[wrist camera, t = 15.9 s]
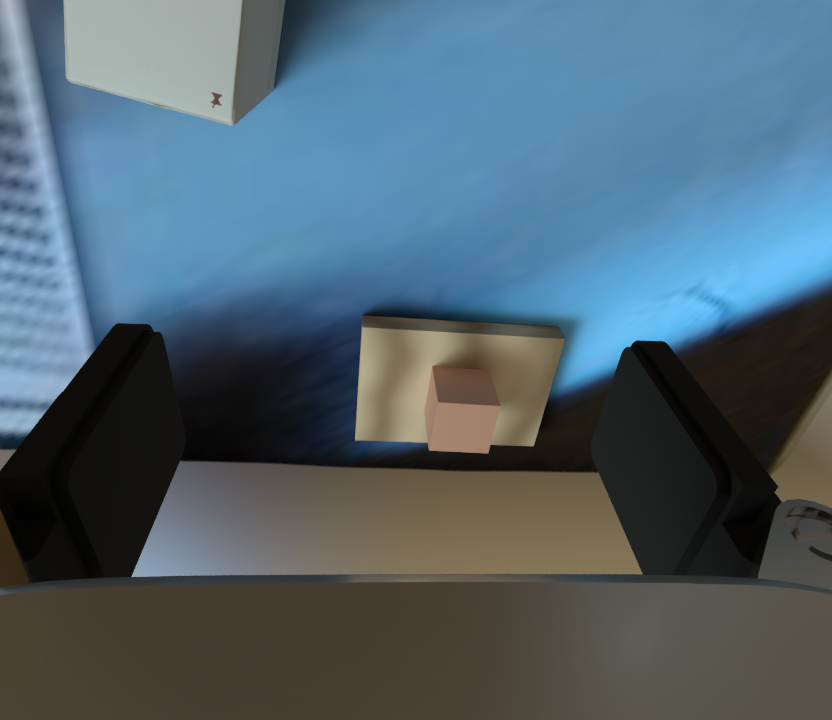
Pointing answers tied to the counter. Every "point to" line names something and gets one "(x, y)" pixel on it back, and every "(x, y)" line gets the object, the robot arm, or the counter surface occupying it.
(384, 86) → the counter surface
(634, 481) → the robot arm
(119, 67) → the supplement box
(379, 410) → the chopping board
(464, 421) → the terracotta cube
